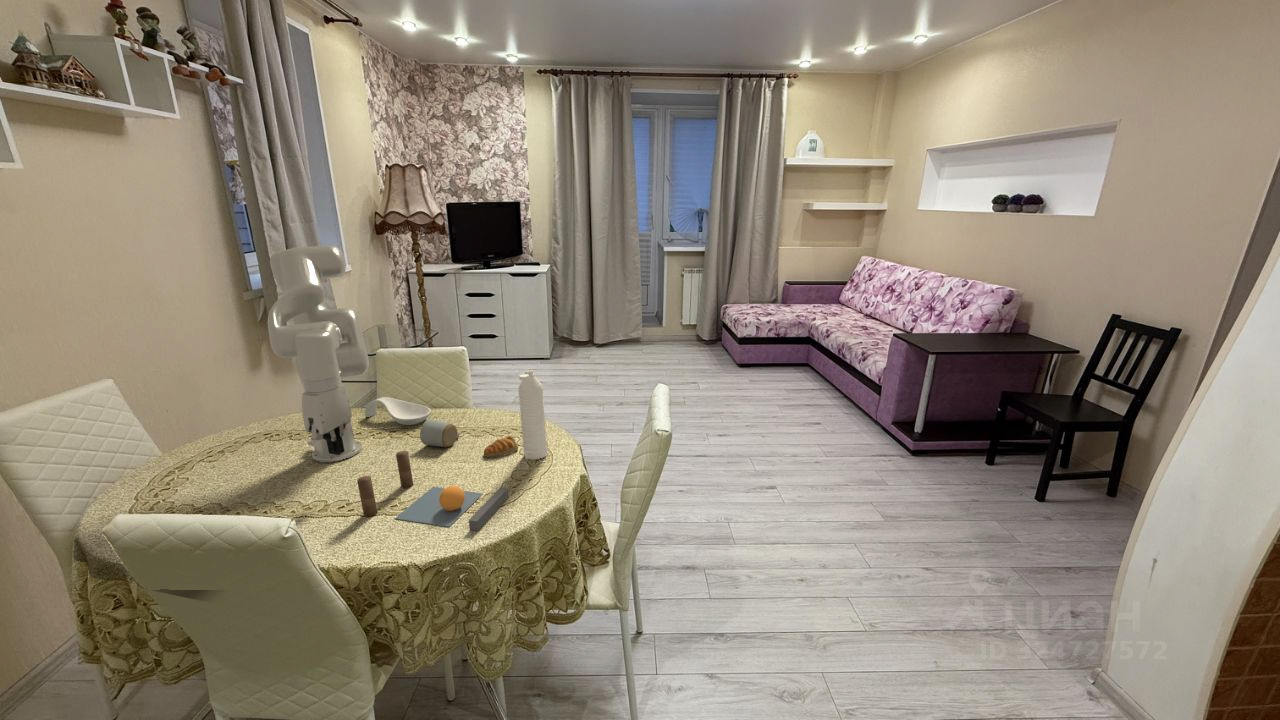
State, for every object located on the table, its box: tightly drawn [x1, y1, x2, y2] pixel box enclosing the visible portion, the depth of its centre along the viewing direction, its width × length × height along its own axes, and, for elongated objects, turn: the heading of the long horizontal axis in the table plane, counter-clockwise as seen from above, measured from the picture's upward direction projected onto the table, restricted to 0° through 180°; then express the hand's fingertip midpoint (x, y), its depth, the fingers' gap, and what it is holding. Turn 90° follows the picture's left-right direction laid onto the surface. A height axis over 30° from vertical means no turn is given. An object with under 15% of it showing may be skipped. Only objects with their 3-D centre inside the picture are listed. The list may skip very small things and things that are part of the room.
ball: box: [439, 485, 465, 511], centre depth 122 cm, size 6×6×6 cm
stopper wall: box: [468, 487, 510, 532], centre depth 120 cm, size 2×14×2 cm, turn 166°
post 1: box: [356, 475, 378, 518], centre depth 120 cm, size 3×3×9 cm
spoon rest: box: [364, 396, 432, 426], centre depth 173 cm, size 24×12×7 cm, turn 72°
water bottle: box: [517, 369, 548, 461], centre depth 144 cm, size 9×6×25 cm
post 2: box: [395, 450, 414, 489], centre depth 132 cm, size 3×3×9 cm
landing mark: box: [394, 486, 484, 528], centre depth 124 cm, size 14×14×1 cm
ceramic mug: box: [419, 418, 460, 448], centre depth 156 cm, size 11×8×8 cm
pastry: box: [483, 435, 519, 459], centre depth 150 cm, size 9×7×4 cm
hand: (336, 452), depth 128 cm, fingers closed
